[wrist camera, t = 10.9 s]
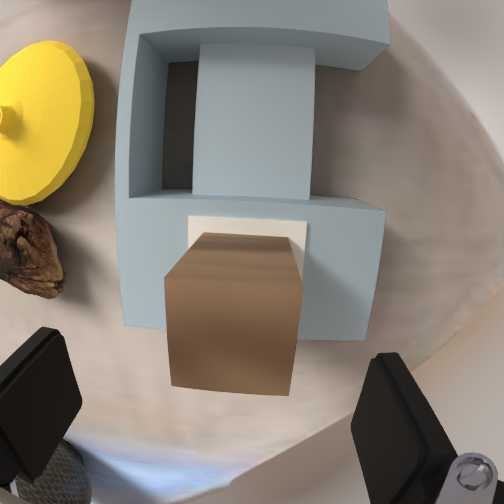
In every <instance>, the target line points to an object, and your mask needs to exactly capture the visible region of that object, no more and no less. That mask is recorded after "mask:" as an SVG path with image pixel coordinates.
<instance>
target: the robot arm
mask: <svg viewBox="0 0 504 504" xmlns="http://www.w3.org/2000/svg"><path fill="white" fill-rule="evenodd" d="M81 406H82V397H81V394H80V391H79V388H78V385H77V381H76V378H75V375H74V372H73V368H72V365H71V362H70V358H69V354H68V351H67V347H66V343H65V339H64V337H63V336H62V335H61V334H60V332H59V331H58V330H57V329H52V328H47V327H41V328H40V329H38V330H37V331H36V332H35V333H34V334H33V335H32V336H31V337H30V338H29V339H28V340H27V341H26V342H25V343H23V344H22V345H21V346H20V347H19V348H18V349H17V350H16V351H15V352H14V353H13V354H12V355H11V356H10V357H9V358H8V359H7V360H6V361H5V362H4V363H3V364H2V365H1V366H0V504H31V503H29V502H27V501H25V500H23V499H21V498H19V495H18V491H17V487H16V483H15V478H16V476H17V475H18V477H19V478H20V479H22V480H24V481H26V482H28V483H30V484H33V483H34V481H35V479H36V478H39V477H40V476H41V475H42V473H43V471H44V469H45V468H46V466H47V464H48V462H49V461H50V459H51V457H52V455H53V454H54V452H55V450H56V449H57V447H58V445H59V443H60V442H61V440H62V438H63V437H64V435H65V433H66V432H67V430H68V428H69V427H70V425H71V423H72V422H73V420H74V418H75V417H76V415H77V413H78V412H79V410H80V409H81ZM351 432H352V436H353V440H354V443H355V447H356V450H357V454H358V457H359V461H360V465H361V468H362V472H363V476H364V479H365V483H366V487H367V490H368V495H369V498H370V503H371V504H504V482H502V481H500V480H498V479H497V478H498V472H497V469H496V466H495V465H494V463H493V462H492V461H491V460H490V459H489V458H487V457H486V456H484V455H482V454H479V453H465V454H463V455H460V456H458V455H457V453H456V451H455V449H454V447H453V446H452V444H451V442H450V440H449V438H448V436H447V435H446V433H445V431H444V429H443V427H442V426H441V424H440V422H439V420H438V419H437V417H436V415H435V413H434V411H433V410H432V408H431V406H430V405H429V403H428V401H427V399H426V398H425V396H424V395H423V393H422V392H421V390H420V388H419V387H418V385H417V383H416V382H415V380H414V378H413V377H412V375H411V373H410V372H409V370H408V368H407V367H406V365H405V364H404V362H403V360H402V359H401V357H400V356H399V354H398V353H396V352H392V353H379V354H377V356H376V358H372V359H371V361H370V364H369V367H368V371H367V374H366V378H365V381H364V384H363V388H362V391H361V394H360V397H359V400H358V403H357V406H356V409H355V412H354V416H353V419H352V422H351Z"/></svg>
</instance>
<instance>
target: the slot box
mask: <svg viewBox="0 0 504 504" xmlns="http://www.w3.org/2000/svg"><path fill="white" fill-rule="evenodd" d="M390 45H391V40H390V26H389V15H388V5H387V0H132V3H131V8H130V13H129V19H128V25H127V31H126V37H125V44H124V51H123V58H122V66H121V75H120V85H119V95H118V108H117V123H116V144H115V221H116V243H117V258H118V271H119V282H120V293H121V302H122V310H123V318H124V325H125V326H132V327H140V328H148V329H156V330H165V331H167V327H166V311H165V291H164V277H165V276H166V275H167V274H168V272H169V271H170V270H171V269H172V268H173V267H174V265H175V264H176V263H177V262H178V261H179V260H180V258H181V257H182V256H183V255H184V254H185V253H186V252H187V250H188V249H189V248H190V247H191V246H192V245H193V244H194V242H195V241H196V240H197V239H198V238H199V237H200V236H201V235H202V233H203V232H210V233H228V234H245V235H261V236H277V237H288V238H289V242H290V245H291V248H292V251H293V254H294V258H295V261H296V264H297V267H298V271H299V274H300V277H301V281H302V284H303V296H302V304H301V312H300V320H299V328H298V335H297V340H326V341H365V337H366V332H367V328H368V323H369V318H370V313H371V308H372V303H373V298H374V292H375V287H376V281H377V275H378V269H379V263H380V256H381V249H382V242H383V234H384V226H385V218H386V211H384V210H382V209H379V208H377V207H374V206H372V205H370V204H367V203H365V202H362V201H360V200H357V199H350V198H339V197H327V196H314V195H310V181H311V165H312V146H313V124H314V95H315V65H321V66H329V67H337V68H344V69H350V70H357V71H362V70H363V69H364V68H365V67H366V66H368V65H369V64H370V63H371V62H372V61H373V60H374V59H375V58H376V57H377V56H379V55H380V54H381V53H382V52H383V51H384V50H385V49H386V48H387V47H389V46H390ZM186 61H199V69H198V82H197V96H196V113H195V132H194V155H193V188H192V190H189V189H162V168H163V139H164V119H165V103H166V89H167V77H168V66H169V63H171V62H186Z"/></svg>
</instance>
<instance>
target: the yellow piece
mask: <svg viewBox="0 0 504 504" xmlns="http://www.w3.org/2000/svg"><path fill="white" fill-rule="evenodd" d="M94 108H95V99H94V89H93V82H92V79H91V77H90V74H89V71H88V69H87V66H86V64H85V62H84V61H83V59H82V58H81V57H80V56H79V55H78V53H77V52H76V51H75V50H74V49H73V48H72V47H70V46H68V45H66V44H64V43H62V42H60V41H42V42H39V43H35V44H32V45H29V46H28V47H26V48H24V49H23V50H21V51H20V52H18V53H17V54H15V55H14V56H12V57H11V58H10V59H9V60H8V61H7V62H6V63H5V64H4V65H3V66H2V67H1V68H0V199H2V200H4V201H6V202H8V203H11V204H13V205H30V204H33V203H36V202H39V201H42V200H43V199H45V198H46V197H47V196H49V195H50V194H51V193H53V192H54V191H55V190H57V189H58V188H59V187H60V186H61V185H62V184H63V183H64V182H65V181H66V179H67V178H68V177H69V176H70V174H71V173H72V172H73V171H74V170H75V168H76V166H77V164H78V162H79V160H80V158H81V156H82V154H83V153H84V151H85V149H86V146H87V142H88V139H89V136H90V132H91V129H92V125H93V116H94Z"/></svg>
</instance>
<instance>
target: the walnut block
mask: <svg viewBox="0 0 504 504" xmlns="http://www.w3.org/2000/svg"><path fill="white" fill-rule="evenodd" d="M164 291H165V311H166V327H167V341H168V353H169V364H170V375H171V385H172V386H176V387H184V388H192V389H200V390H209V391H219V392H230V393H243V394H259V395H280V396H289V390H290V384H291V377H292V371H293V364H294V357H295V350H296V343H297V335H298V328H299V320H300V312H301V304H302V296H303V284H302V281H301V277H300V274H299V271H298V267H297V264H296V261H295V258H294V254H293V251H292V248H291V245H290V242H289V238H288V237H277V236H261V235H245V234H228V233H210V232H203V233H202V235H201V236H200V237H199V238H198V239H197V240H196V241H195V242H194V244H193V245H192V246H191V247H190V248H189V249H188V250H187V252H186V253H185V254H184V255H183V256H182V257H181V258H180V260H179V261H178V262H177V263H176V264H175V265H174V267H173V268H172V269H171V270H170V271H169V272H168V274H167V275H166V276H165V277H164Z"/></svg>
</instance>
